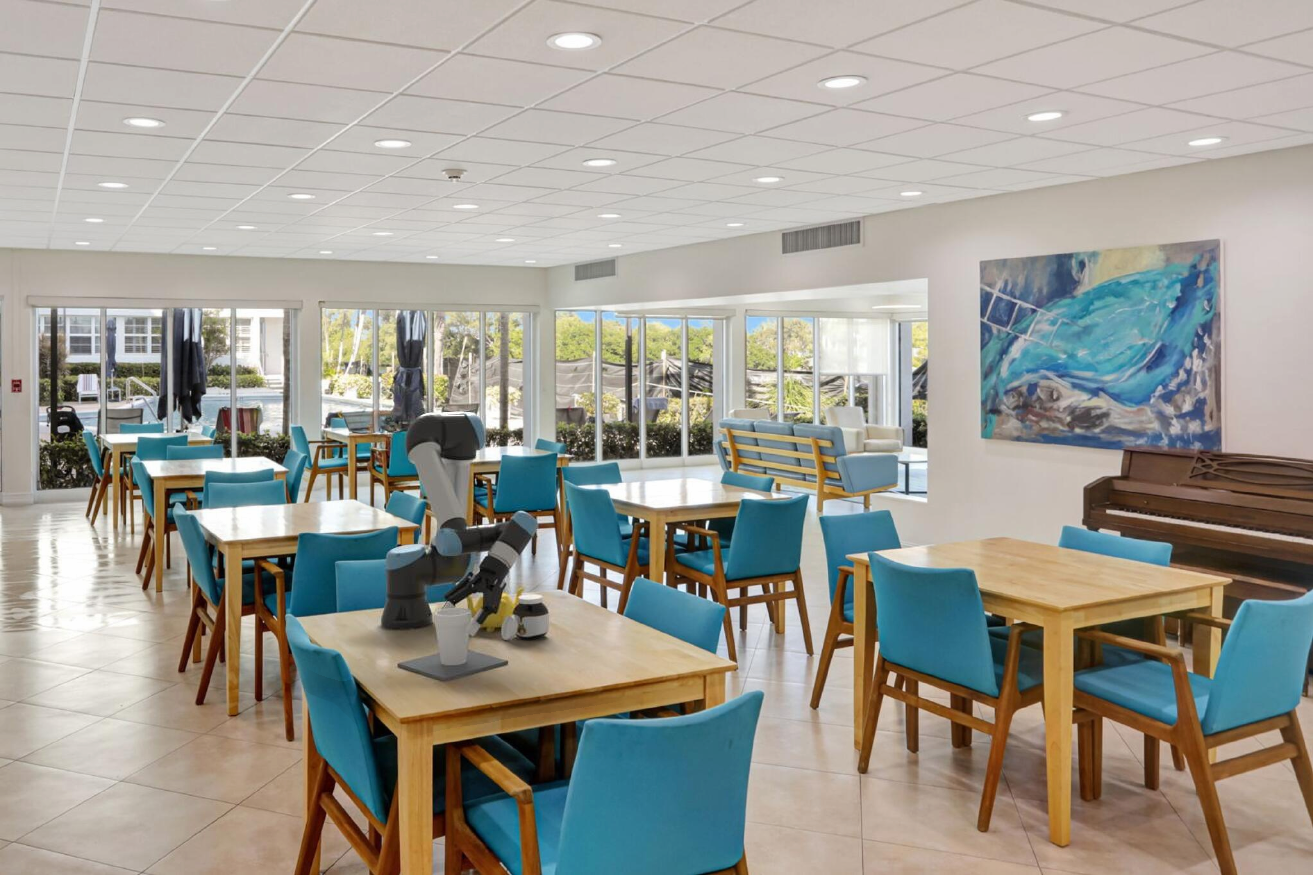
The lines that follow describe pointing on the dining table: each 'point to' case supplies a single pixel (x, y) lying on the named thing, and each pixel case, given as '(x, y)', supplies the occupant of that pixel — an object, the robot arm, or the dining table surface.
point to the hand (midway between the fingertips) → (453, 629)
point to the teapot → (503, 611)
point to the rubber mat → (447, 672)
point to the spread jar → (527, 619)
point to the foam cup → (452, 634)
